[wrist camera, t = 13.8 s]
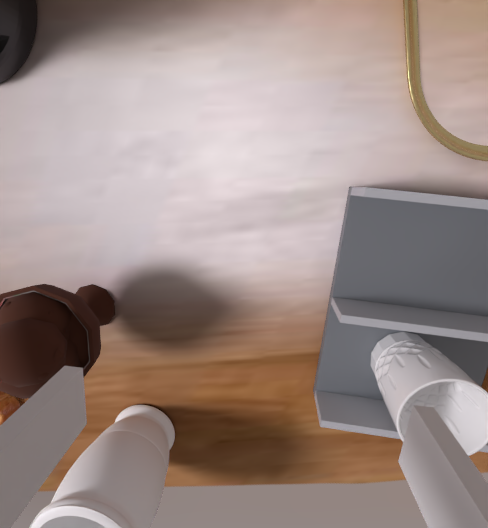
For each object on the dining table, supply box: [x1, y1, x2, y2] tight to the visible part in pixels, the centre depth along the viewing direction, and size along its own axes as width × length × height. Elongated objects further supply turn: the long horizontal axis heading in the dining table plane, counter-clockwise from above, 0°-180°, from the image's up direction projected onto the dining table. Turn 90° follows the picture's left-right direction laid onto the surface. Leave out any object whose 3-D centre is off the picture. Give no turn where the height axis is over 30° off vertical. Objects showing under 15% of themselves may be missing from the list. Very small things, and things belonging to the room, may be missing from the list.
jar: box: [29, 405, 175, 528], centre depth 36 cm, size 11×10×15 cm
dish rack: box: [313, 187, 488, 452], centre depth 33 cm, size 24×18×6 cm
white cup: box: [370, 332, 488, 456], centre depth 31 cm, size 8×8×10 cm
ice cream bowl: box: [0, 284, 115, 399], centre depth 32 cm, size 11×11×15 cm
